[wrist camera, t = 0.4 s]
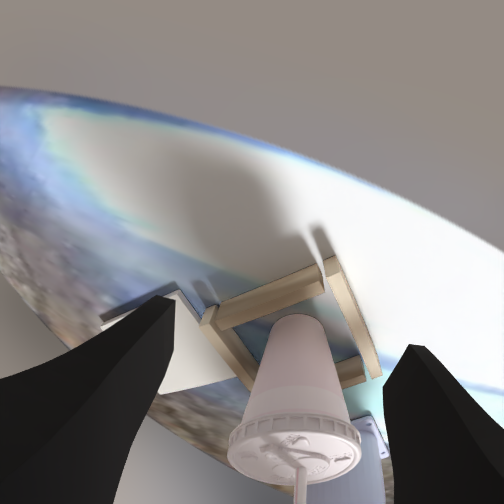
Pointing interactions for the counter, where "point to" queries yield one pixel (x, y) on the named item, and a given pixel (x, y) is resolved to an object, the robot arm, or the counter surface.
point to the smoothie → (295, 413)
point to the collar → (279, 297)
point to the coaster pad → (188, 351)
